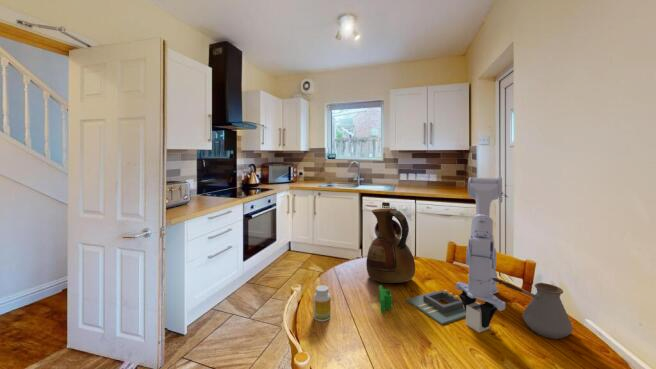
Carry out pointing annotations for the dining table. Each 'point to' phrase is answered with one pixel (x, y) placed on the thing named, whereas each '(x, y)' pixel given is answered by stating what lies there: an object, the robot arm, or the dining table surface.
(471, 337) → the dining table surface
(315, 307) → the supplement bottle
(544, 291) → the coffee pot
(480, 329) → the plug
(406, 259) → the ceramic pitcher
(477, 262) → the robot arm
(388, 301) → the pipe clamp
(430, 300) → the header socket
